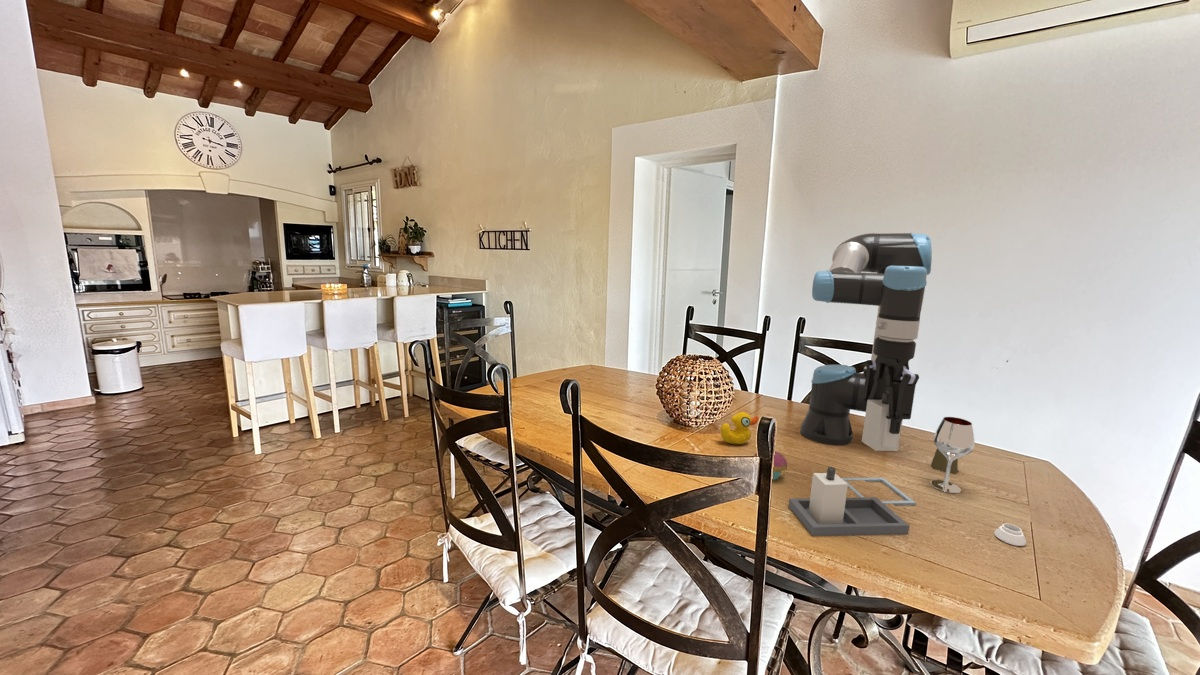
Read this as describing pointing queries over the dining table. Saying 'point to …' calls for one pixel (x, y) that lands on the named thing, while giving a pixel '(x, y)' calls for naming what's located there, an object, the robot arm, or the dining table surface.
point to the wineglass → (952, 447)
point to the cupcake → (778, 464)
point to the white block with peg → (877, 424)
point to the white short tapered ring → (1010, 534)
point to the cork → (943, 463)
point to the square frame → (905, 497)
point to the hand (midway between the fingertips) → (880, 440)
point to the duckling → (738, 428)
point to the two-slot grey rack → (853, 518)
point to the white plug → (827, 497)
